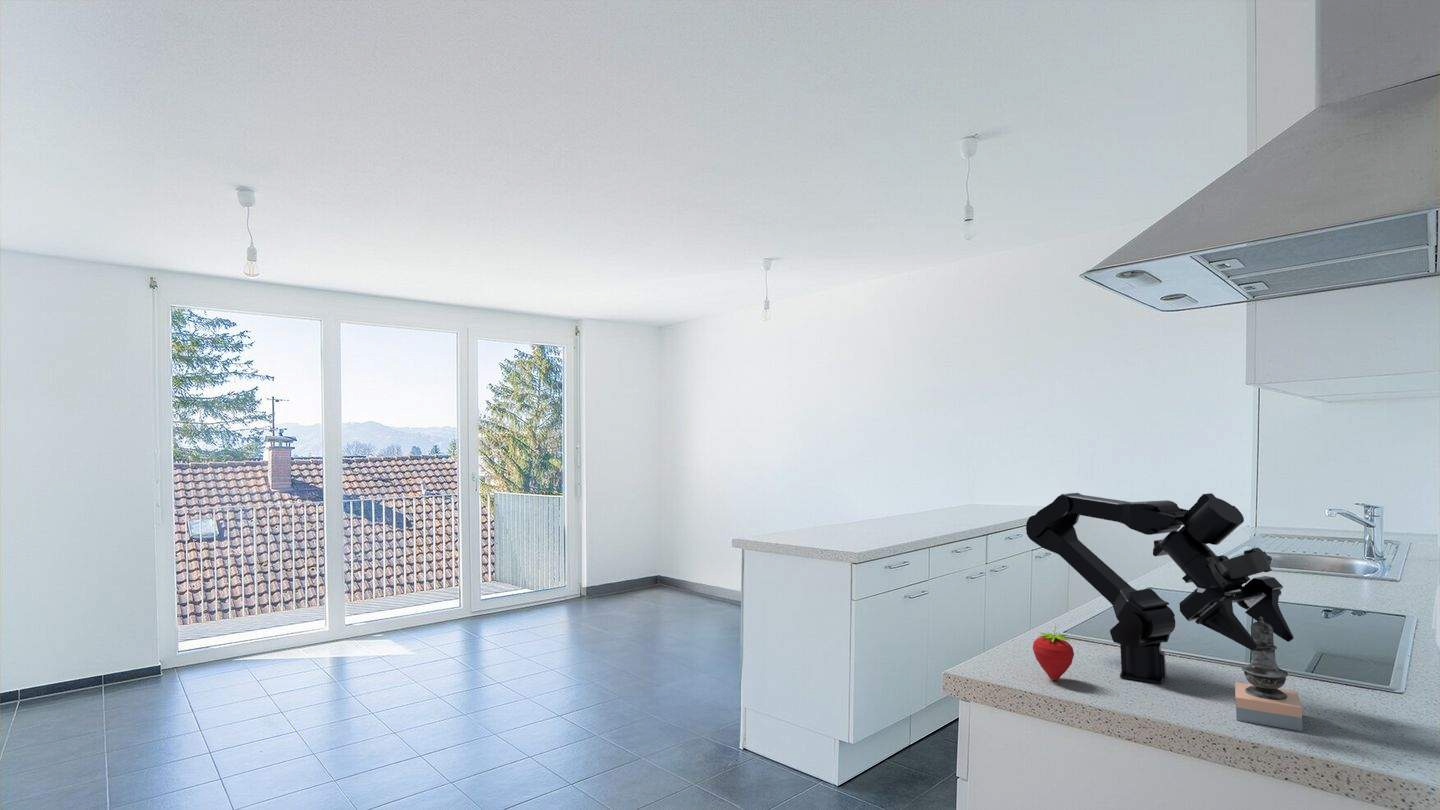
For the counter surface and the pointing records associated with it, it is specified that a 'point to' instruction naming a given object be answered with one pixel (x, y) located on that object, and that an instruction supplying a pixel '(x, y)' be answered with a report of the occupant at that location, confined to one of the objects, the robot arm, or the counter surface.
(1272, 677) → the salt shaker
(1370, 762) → the counter surface
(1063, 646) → the strawberry
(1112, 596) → the robot arm
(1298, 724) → the peach and grey block
